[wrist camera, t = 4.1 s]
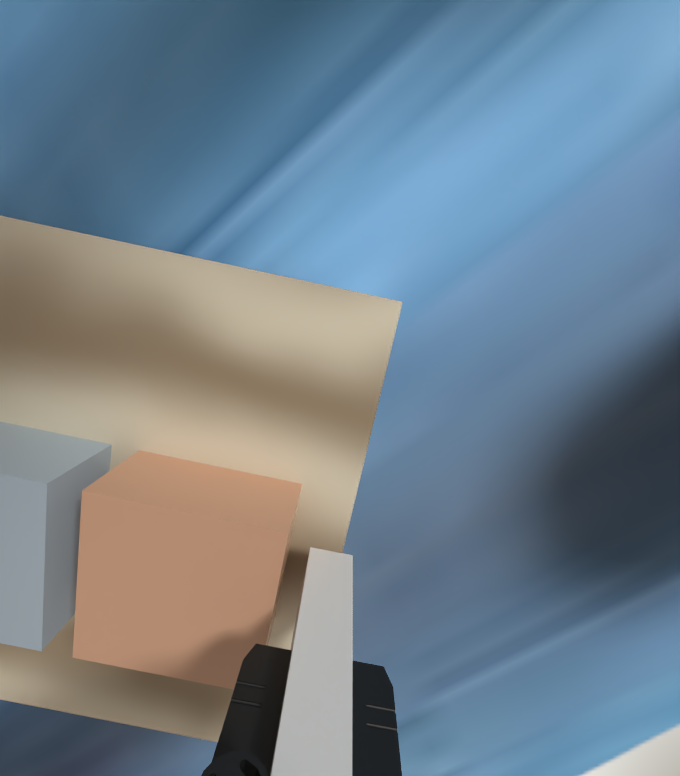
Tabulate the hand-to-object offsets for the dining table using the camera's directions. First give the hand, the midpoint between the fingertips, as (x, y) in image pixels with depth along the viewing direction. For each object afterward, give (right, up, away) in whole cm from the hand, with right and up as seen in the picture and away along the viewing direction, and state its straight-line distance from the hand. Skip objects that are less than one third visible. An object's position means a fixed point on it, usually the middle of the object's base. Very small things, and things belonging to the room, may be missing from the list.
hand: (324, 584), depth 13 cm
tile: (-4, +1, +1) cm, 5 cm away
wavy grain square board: (-8, +3, +5) cm, 10 cm away
